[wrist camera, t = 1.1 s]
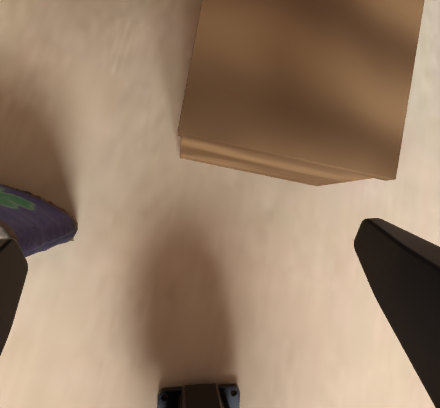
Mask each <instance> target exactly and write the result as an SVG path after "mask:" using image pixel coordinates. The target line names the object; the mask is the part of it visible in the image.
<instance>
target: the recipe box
mask: <svg viewBox="0 0 440 408" xmlns="http://www.w3.org/2000/svg"><path fill="white" fill-rule="evenodd" d="M423 6H424V0H202V5H201V10H200V16H199V21H198V26H197V31H196V37H195V42H194V47H193V53H192V58H191V63H190V69H189V74H188V79H187V84H186V90H185V95H184V100H183V106H182V111H181V116H180V122H179V127H178V136H182V140H181V154H180V158H184V159H188V160H193V161H198V162H203V163H208V164H213V165H217V166H222V167H227V168H232V169H237V170H242V171H247V172H251V173H256V174H261V175H266V176H271V177H276V178H280V179H285V180H290V181H295V182H300V183H305V184H309V185H314V186H321V185H328V184H335V183H342V182H349V181H356V180H363V179H370V178H376V179H381V180H385V181H386V180H394V179H396V174H397V167H398V161H399V155H400V149H401V143H402V136H403V130H404V124H405V118H406V112H407V105H408V99H409V93H410V87H411V81H412V74H413V68H414V62H415V56H416V50H417V43H418V37H419V31H420V25H421V19H422V12H423Z"/></svg>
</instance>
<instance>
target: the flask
mask: <svg viewBox="0 0 440 408" xmlns="http://www.w3.org/2000/svg"><path fill="white" fill-rule="evenodd" d="M77 230H78V223H77V222H76V220H75V219H74V217H73V216H71V215H70V214H69V213H68V212H66V211H65V210H64V209H62V208H60V207H58V206H56V205H55V204H53V203H52V202H50V201H49V202H48V201H46V200H45V199H44V198H41V197H39V196H36V195H33V194H32V193H28V192H26V191H21V190H18V189H15V188H11V187H8V186H5V185H1V184H0V239H3V238H13V239H15V240H16V241H17V242H18V244H19V246H20V248H21V250H22V252H23V254H24V256H25V257H27V256H30V255H32V254H35V253H38V252H41V251H45V250H47V249H49V248H51V247H53V246H55V245H58V244H62V243H66V242H68V241H74V240H73V237H74V236H75V234H76V232H77Z"/></svg>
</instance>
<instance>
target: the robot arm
mask: <svg viewBox="0 0 440 408" xmlns="http://www.w3.org/2000/svg"><path fill="white" fill-rule="evenodd" d="M354 248H355V251H356V253H357V256H358V258H359V261H360V263H361V265H362V268H363V270H364V272H365V275H366V277H367V279H368V282H369V284H370V287H371V289H372V291H373V293H374V295H375V297H376V299H377V301H378V303H379V305H380V307H381V309H382V311H383V312H384V314H385V316H386V318H387V320H388V322H389V323H390V325H391V327H392V329H393V331H394V333H395V334H396V336H397V338H398V340H399V342H400V343H401V345H402V347H403V349H404V351H405V353H406V354H407V356H408V358H409V360H410V362H411V364H412V365H413V367H414V369H415V371H416V373H417V374H418V376H419V378H420V380H421V382H422V384H423V385H424V387H425V389H426V391H427V393H428V394H429V396H430V398H431V400H432V402H433V404H434V405H435V407H436V408H440V247H439V246H437V245H435V244H433V243H430V242H428V241H426V240H424V239H422V238H420V237H418V236H416V235H414V234H412V233H410V232H407V231H405V230H403V229H401V228H399V227H397V226H395V225H393V224H391V223H389V222H386V221H384V220H382V219H380V218H370V219H364V220H363V221H362V223H361V225H360V227H359V230H358V232H357V235H356V237H355V240H354ZM27 271H28V264H27V261H26V259H25V256H24V254H23V252H22V250H21V248H20V246H19V244H18V242H17V241H16V240H15V239H13V238H3V239H0V355H1V353H2V350H3V348H4V345H5V343H6V341H7V338H8V335H9V333H10V330H11V327H12V324H13V321H14V317H15V314H16V310H17V307H18V303H19V300H20V296H21V293H22V289H23V286H24V282H25V279H26V275H27ZM232 390H236V391H235V392H234V393H231V391H232ZM164 394H166V395H167V397H165V398H164V397H162V395H164ZM239 402H240V391H239V388H238V386H237V385H236V384H221V385H216V384H200V385H185V386H184V387H172V388H163V389H161V390H160V391H159V393H158V406H157V408H239Z"/></svg>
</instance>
